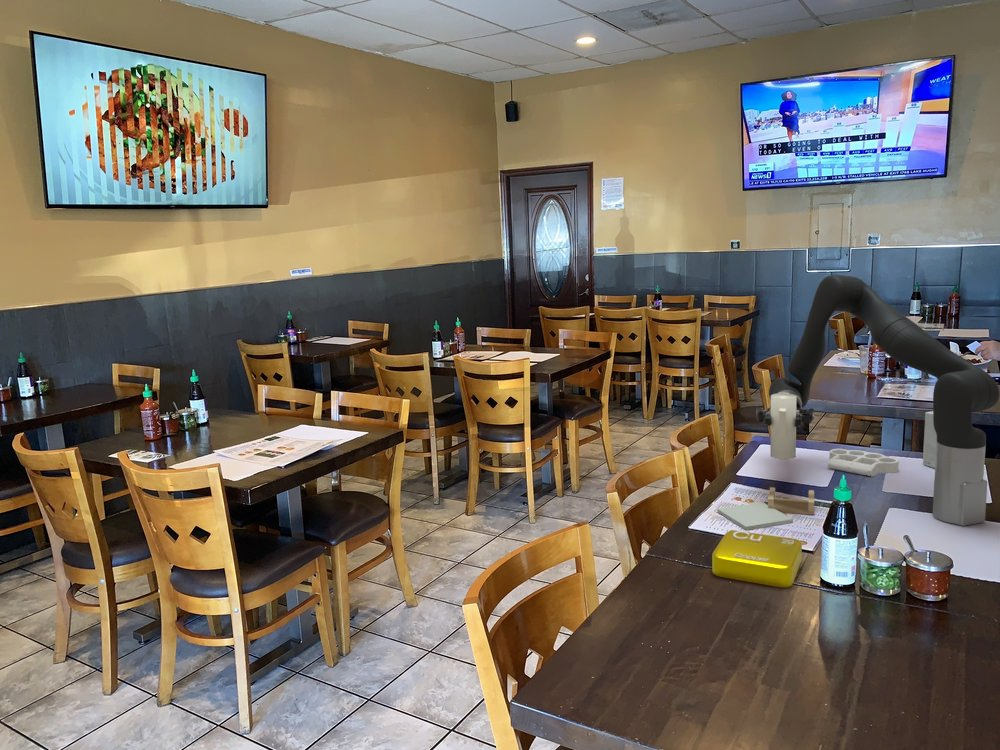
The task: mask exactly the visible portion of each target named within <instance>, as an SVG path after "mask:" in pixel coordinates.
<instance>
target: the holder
mask: <svg viewBox="0 0 1000 750" xmlns="http://www.w3.org/2000/svg"><path fill="white" fill-rule="evenodd" d="M768 492H769V493H768V498H767V505H768V508H774V509H776V510H778V511H779V512H781V513H784V514H785V513H786V514H787V513H788V514H797V515H798V514H799V515H808V514H813V515H814V514H815V490H813V489H809V490H808V499H796V498H795V499H794V498H784V497H783V498H781V497H776V487H771V486H770V487H769V491H768ZM813 515H812V516H813Z"/></svg>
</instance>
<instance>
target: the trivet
mask: <svg viewBox="0 0 1000 750" xmlns="http://www.w3.org/2000/svg"><path fill="white" fill-rule="evenodd" d="M717 513H719V514H720V515H721V514H722V517H725V518H726V519H728V520H729V521H730V522H732V523H734V524H735V525H738V527H740V528H742V529H744V530H745V531H748V530H749V531H750V530H755V529H762V528H767V527H773V526H778V525H786V524H790V523H791V524H792V523H793V522H794V519H793V518H792V517H791V516H789V515H787V514H785V513H784V512H779V511H778V510H776V509H774V508H768V503H765V502H764V501H759V502H758V501H757V502H752V503H751V502H750V503H747V504H740V505H739V504H738V505H733V506H727V507H720V508H717Z"/></svg>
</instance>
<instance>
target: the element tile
mask: <svg viewBox="0 0 1000 750" xmlns="http://www.w3.org/2000/svg"><path fill="white" fill-rule="evenodd" d="M802 549H803V543H802V541H800V540H799V539H797V538H791V537H783V536H778V535H772V534H771V535H770V534H763V533H762V534H761V533H757V532H756V533H755V532H748V531H743V530H741V531H740V530H728V531H727V532H725V534H724V535H723V536H722V538H721V539H720V541H719V543H718V544H717V546H716V547H715V548H714V549H713V552H712V554H711V558H712V559H711V560H712V561H711V564H712V567H711V569H712V570H711V571H712V574H713V575H715V576H717V577H721V578H725V579H730V580H731V579H732V580H738V581H742V582H748V583H754V584H760V585H766V586H772V587H778V588H789V587H792V586H793V584H794V581H795V579H796V576H797V573H798V571H799V569H800V566H801V563H802V556H803V555H802V554H803V553H802V552H803V551H802Z"/></svg>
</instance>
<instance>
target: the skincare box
mask: <svg viewBox="0 0 1000 750" xmlns="http://www.w3.org/2000/svg"><path fill="white" fill-rule="evenodd" d="M924 413H925V414H924V416H925V417H924V432H923V433H924V436H923V455H922V465H923V466H926V467H927V466H928V467H930V468H932V469H935V459H936V442H937V435H936V432H935V429H934V424H933V410H932V411H926V412H924Z"/></svg>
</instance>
